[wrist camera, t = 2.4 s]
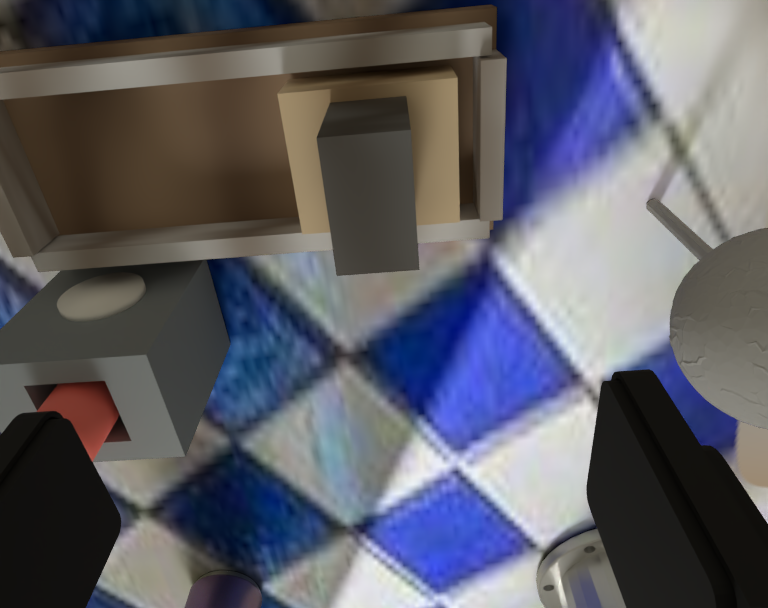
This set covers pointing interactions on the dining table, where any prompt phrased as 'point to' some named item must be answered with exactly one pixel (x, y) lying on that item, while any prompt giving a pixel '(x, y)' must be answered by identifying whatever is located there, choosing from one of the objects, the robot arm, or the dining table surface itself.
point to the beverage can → (224, 591)
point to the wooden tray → (215, 136)
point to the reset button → (85, 411)
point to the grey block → (121, 351)
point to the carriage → (374, 161)
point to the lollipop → (723, 320)
